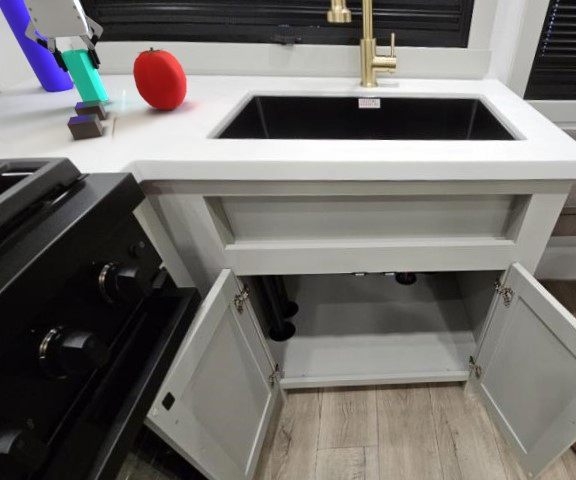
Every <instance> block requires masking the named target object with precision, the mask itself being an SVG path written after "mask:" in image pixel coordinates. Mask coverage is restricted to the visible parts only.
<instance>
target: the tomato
mask: <svg viewBox="0 0 576 480" xmlns="http://www.w3.org/2000/svg"><path fill="white" fill-rule="evenodd" d="M132 72H133V79H134V82H135V87H136V89H137V92H138V94H139V95H140V97H141V98H142V99H143V100H144V101H145V102H146V103H147V104H148V105H149V106H150V107H152V108H153V109H157V110H160V111H170V110H174V109H176V108H178V107H180V106H181V105H182V104H183V102H184V100H185V99H186V95H187V93H188V92H187V91H188V90H187V89H188V87H187V86H188V85H187V84H188V83H187V81H188V80H187V76H186V73H185V71H184V68H183V67H182V64H181V63H180V61H179V60H178V59H177V58H176V57H175V56H174V55H173V54H172V53H171V52H169V51H167V50H164V49H163V48H161V49H154V47H153V46H150V47H149V49H148V50H147V49H146V50H143V51H139V52H138V55H137V57H135V59H134V62H133V69H132Z"/></svg>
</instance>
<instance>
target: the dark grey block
mask: <svg viewBox="0 0 576 480" xmlns="http://www.w3.org/2000/svg"><path fill="white" fill-rule="evenodd" d="M66 126H67V128H68V130H69V131H70V133H71V135H72V137H73V139H74V141H79V140H85V139H93V138H100V137H102V136H103V133H104V127H103V124H102V122H101V120H99V118H98V115H97V114H90V115H82V116H78V115H76V116H75V115H74V116H70V117H69V120H68V122H67V123H66Z"/></svg>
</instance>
